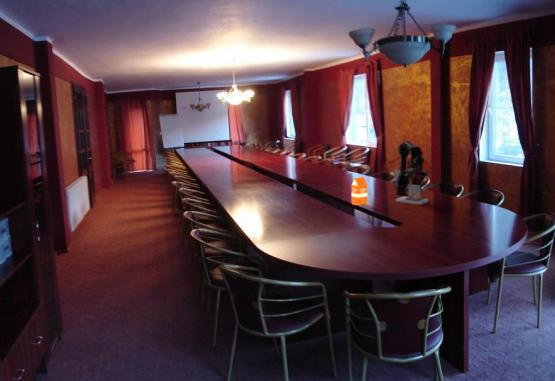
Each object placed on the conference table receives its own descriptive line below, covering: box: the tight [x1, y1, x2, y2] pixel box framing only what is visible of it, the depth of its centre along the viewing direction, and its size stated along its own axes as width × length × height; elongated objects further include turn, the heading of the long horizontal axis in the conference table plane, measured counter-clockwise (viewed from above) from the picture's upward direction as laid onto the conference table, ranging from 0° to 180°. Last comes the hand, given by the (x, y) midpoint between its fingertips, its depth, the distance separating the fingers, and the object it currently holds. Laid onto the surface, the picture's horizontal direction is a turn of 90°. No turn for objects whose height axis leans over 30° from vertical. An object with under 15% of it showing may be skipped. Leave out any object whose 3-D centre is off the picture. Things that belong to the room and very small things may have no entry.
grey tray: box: [395, 195, 429, 205], centre depth 357 cm, size 20×12×3 cm, turn 47°
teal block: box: [408, 184, 421, 194], centre depth 354 cm, size 6×6×5 cm
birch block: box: [408, 192, 421, 199], centre depth 355 cm, size 6×6×5 cm
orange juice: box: [350, 176, 368, 206], centre depth 354 cm, size 8×9×20 cm
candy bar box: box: [394, 169, 410, 190], centre depth 408 cm, size 11×5×16 cm, turn 62°
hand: (414, 184), depth 354 cm, fingers open, 9 cm apart
